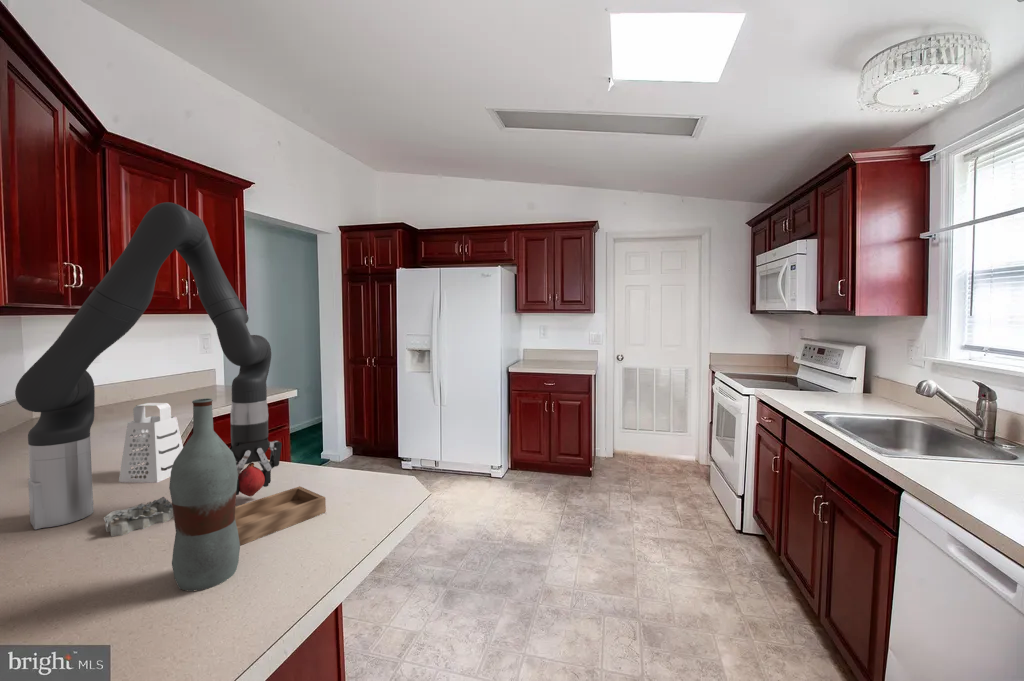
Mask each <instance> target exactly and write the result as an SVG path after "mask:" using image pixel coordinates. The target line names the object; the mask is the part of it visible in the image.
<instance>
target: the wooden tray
mask: <svg viewBox="0 0 1024 681" xmlns="http://www.w3.org/2000/svg"><path fill="white" fill-rule="evenodd" d="M326 500H327V499H326V497H325V496H323V495H321V494H318V493H316V492H314V491H312V490H309V489H307V488H305V487H303V486H296V487H293V488H290V489H288V490H283V491H281V492H277V493H275V494H271V495H268V496H264V497H261V498H259V499H255V500H253V501H249V502H246V503H243V504H239V505H235V521H236V526H237V530H238V536H239V542H240V546H243V545H245V544H248V543H251V542H253V541H255V540H259V539H260V538H263V536H264V537H266V536H269V535H272V534H274V533H276V531H277V532H279V531H282V530H284V528H285V529H288V528H289V527H293V526H295V525H297V524H299V523H302V522H304V521H307V520H311V519H313V518H316V517H318V516H321V515H323V514H322V513H324V514H326V513H327V512H326V511H327V508H326V506H327V505H326V502H327V501H326ZM325 512H326V513H325ZM320 514H321V515H320ZM317 515H318V516H317ZM315 516H316V517H315ZM271 533H272V534H271ZM268 534H269V535H268ZM258 538H259V539H258Z"/></svg>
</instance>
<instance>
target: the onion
mask: <svg viewBox="0 0 1024 681" xmlns="http://www.w3.org/2000/svg"><path fill="white" fill-rule="evenodd" d="M238 479H239V493H241V494H242V495H244V496H247V497H249V498H251V497H253V496H255V494H256V493H259V491H260V490H261V489H262V488H263V487H264V486H263V485H264V482H265V477H264V474H263V472H262V471H261V468H258V467H257V466H255V462H251V463H249V464H247V465H246V467H245V468H243V469H242V470H241V472H240V474H239V476H238Z"/></svg>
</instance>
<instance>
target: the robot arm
mask: <svg viewBox="0 0 1024 681" xmlns="http://www.w3.org/2000/svg"><path fill="white" fill-rule="evenodd" d="M175 250H176V252H177V253H178V254H179V255H180V257H182V259H183V260H184V262H185V263H186V264H187V266H188V268H189V270H190V272H191V274H192V276H193V278H194V282H195V286H196V291H197V294H198V298H199V299H200V302H201V304H202V306H203V308H204V310H205V311H206V313H207V315H208V317H209V318H210V320H211V322H212V324H213V325H214V327H215V328H216V334H217V335H216V336H217V338H218V341H219V345H220V347H221V350H222V353H223V354H224V355H225V357H226V358H227V360H228V361H229V362H230V363H231V364H232V365H235V366H238V367H239V372H238V375H237V376H236V377H234V378H233V380H232V382H231V407H230V447H229V449H230V450H231V451H232V452H233V454H234V457H235V460H236V465H237V471H238V476H239V474H240V473H241V471H242V470H243V469H245V468H244V467H245V465H249V463H259V466H260V468H261V469H262V470H261V469H260V470H261V471H262V472H263V474H264V477H265V482H264V485H263V486H262V487H264V488H266V487H269V486H270V485H269V484H271V481H272V480H271V479H272V478H271V477H272V476H271V474H272V473H271V471H272V469H274V468H275V467H276V468H278V466H279V465H280V460H281V452H282V446H283V442H281V441H279V440H275V439H274V440H273V441H269V406H268V400H267V399H268V396H267V395H268V394H267V393H268V392H267V390H268V389H267V388H268V386H267V380H268V376H269V371H270V366H271V361H272V347H271V345H270V343H269V341H268V340H267V339H266V337H264V336H262V335H258V334H251V333H250V331H249V329H248V326H247V323H248V322H249V320H250V319H249V315H248V312H247V310H246V309H245V307H244V306H243V304H242V302H241V300H240V299H239V297H238V295H237V293H236V292H235V289H234V288H233V286H232V285H231V282H230V281H229V279H228V278H227V275H226V273H225V271H224V268H222V266H221V265H222V264H221V263H220V261H219V258H218V256H217V254H216V251H215V248H214V246H213V243H212V239H211V238H210V234H209V232H208V229H207V227H206V225H205V222H204V220H202V219H201V218H200V217H199V216H198V215H196V214H195V213H194V212H192V211H190V210H189V209H188V208H185V207H183V206H182V205H181V204H178V203H174V202H169V201H168V202H166V201H165V202H161V203H157V204H156V205H154V206H152V207H151V208H150V209H148V211H147V212H146V214H144V216H143V218H142V219H141V221H140V222H139V224H138V226H137V228H136V230H135V231H134V233H133V235H132V236H131V237H130V240H129V242H128V244H127V245H126V246H125V248H124V250H123V251H122V253H121V254H120V255H119V256H118V258H117V259H116V260H115V262H114V263H113V264H112V266H111V267H110V269H109V270H108V272H107V273H106V274H105V275H104V277H103V278H102V279H101V281H100V282H99V283H98V284H97V285H96V286H95V287H94V289H93V290H92V292H90V294H89V296H88V297H87V298H86V299H85V301H84V302H83V304H82V305H81V306H80V308H79V309H78V311H77V312H76V314H75V315H74V316H73V317H72V319H70V321H69V322H68V324H67V325H66V326H65V328H64V329H63V330H62V332H61V334H59V336H58V337H57V338H56V340H55V341H54V343H53V344H52V345H51V346H50V347H49V348H48V349H47V350H46V351H45V352H44V353H43V354H42V355H41V356H40V357H39V358H38V360H36V361H35V362H34V364H33V365H31V366H30V368H29V369H27V371H25V373H24V374H23V375H21V377H20V379H19V380H18V382H17V383H16V386H15V390H14V393H15V394H14V396H15V399H16V401H17V403H18V404H19V406H20V407H21V408H23V409H24V410H26V411H29V412H33V413H40V414H39V418H38V421H37V422H36V423H35V425H34V426H32V428H31V429H30V430H29V431H28V433H27V443H28V465H29V466H28V468H29V478H28V479H27V480H28V483H27V484H28V486H27V487H28V501H29V503H28V504H29V506H28V507H29V518H30V519H29V521H30V524H31V526H32V528H33V530H41V529H42V528H43V529H45V528H51V527H57V526H58V527H59V526H63V525H67V524H71V523H74V522H77V521H80V520H82V519H84V518H87V517H89V516H91V515H92V514H93V513H94V493H93V490H94V489H93V469H92V443H91V429H92V426H93V424H94V420H95V402H96V400H95V399H96V398H95V396H96V395H95V394H96V392H95V383H94V380H93V377H92V375H91V374H90V372H89V371H87V370H88V368H89V367H90V366H91V364H92V363H93V362H95V360H96V358H98V357H99V356H100V355H101V354H102V353H103V352H104V351H105V352H106V350H108V348H109V347H111V346H112V345H114V344H115V343H116V342H118V341H119V340H120V339H122V337H124V336H125V335H126V334H127V333H128V332H129V331H130V330H131V329H132V328H134V326H135V325H136V323H138V321H139V320H140V318H141V317H142V315H143V314H144V313H145V311H147V309H148V307H149V305H150V304H151V302H152V299H153V296H154V292H155V285H156V280H157V277H158V274H159V270H160V269H161V267H162V265H163V264H164V262H165V261H166V260H167V259H168V257H169V256H170V255H171V254H172V253H173V252H174V251H175ZM268 450H270V456H269V459H268V457H267V456H266V453H267V451H268ZM238 495H240V492H239V479H238V480H237V489H236V496H238Z"/></svg>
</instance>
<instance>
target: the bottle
mask: <svg viewBox="0 0 1024 681" xmlns="http://www.w3.org/2000/svg"><path fill="white" fill-rule="evenodd" d="M213 401H214V400H213V398H208V397H207V398H198V399H197V398H196V399H193V400H192V401H191V403H192V414H193V417H192V420H193V422H192V424H193V425H192V427H193V428H192V430H193V433H192V434H191V436H190V437H189V438H188V440H187V442H185V444H184V445H183V449H182V450H181V452H180V453H179V455H178V456H177V458H176V459H175V461H174V463H173V466H172V470H171V476H170V477H169V488H168V489H169V494H170V500H171V503H172V506H173V520H174V528H175V536H174V542H173V549H172V550H173V551H172V559H171V567H172V571H173V577H174V581H175V582H176V584H177V587H178V588H179V589H180V590H181V589H183V590H182V591H184V590H188V591H187V592H195V591H194V590H197V591H203V590H206V588H207V589H210V588H209V587H211V588H213V587H215V586H218V585H221V584H222V583H224V582H226V581H227V579H228V580H229V579H230V578H232V577H233V576H234V575H235V573H236V572H237V569H238V565H239V559H240V549H241V545H240V542H239V536H238V530H237V526H236V521H235V507H236V506H237V504H236V501H237V495H236V489H237V480H238V471H237V465H236V460H235V457H234V454H233V452H232V451H231V450H230V447H228V445H227V444H226V442H224V441H223V440H222V438H221V437H220V436H219V435H218V433H217V432H216V431H215V430H214V419H213V418H214V416H213V415H214V414H213ZM220 583H221V584H220ZM202 589H203V590H202Z"/></svg>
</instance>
